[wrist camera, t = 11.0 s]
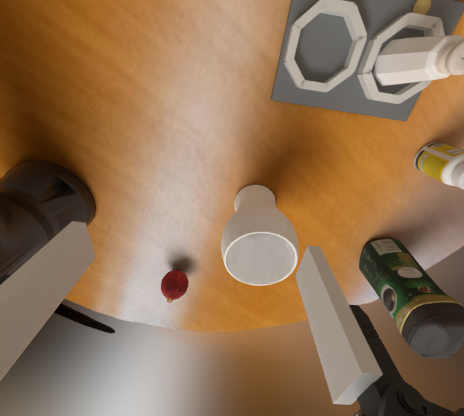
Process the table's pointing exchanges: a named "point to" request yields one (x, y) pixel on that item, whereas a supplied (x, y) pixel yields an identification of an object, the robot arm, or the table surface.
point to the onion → (174, 285)
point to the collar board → (354, 52)
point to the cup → (258, 239)
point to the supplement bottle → (442, 163)
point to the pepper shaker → (419, 59)
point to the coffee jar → (413, 299)
